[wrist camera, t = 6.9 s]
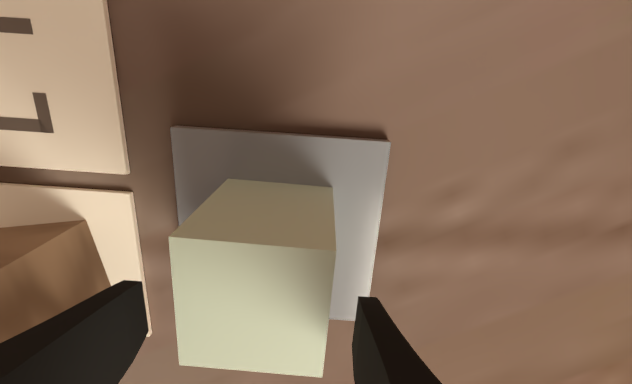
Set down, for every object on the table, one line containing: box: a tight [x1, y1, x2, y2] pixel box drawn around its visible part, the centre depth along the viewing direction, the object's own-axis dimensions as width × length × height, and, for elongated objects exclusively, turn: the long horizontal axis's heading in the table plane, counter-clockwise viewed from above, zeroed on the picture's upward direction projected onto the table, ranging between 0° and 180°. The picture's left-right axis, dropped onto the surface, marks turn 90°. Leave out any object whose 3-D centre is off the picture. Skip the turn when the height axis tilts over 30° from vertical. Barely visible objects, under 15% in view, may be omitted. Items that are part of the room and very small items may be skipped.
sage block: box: [169, 179, 336, 377], centre depth 13 cm, size 5×5×6 cm
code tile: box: [0, 0, 130, 175], centre depth 14 cm, size 9×9×1 cm
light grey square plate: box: [170, 125, 391, 321], centre depth 16 cm, size 10×10×1 cm
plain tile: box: [0, 183, 152, 337], centre depth 18 cm, size 9×9×1 cm
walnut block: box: [0, 220, 111, 343], centre depth 15 cm, size 5×5×6 cm
